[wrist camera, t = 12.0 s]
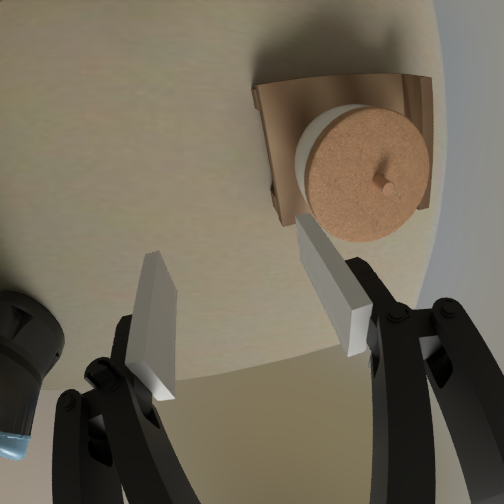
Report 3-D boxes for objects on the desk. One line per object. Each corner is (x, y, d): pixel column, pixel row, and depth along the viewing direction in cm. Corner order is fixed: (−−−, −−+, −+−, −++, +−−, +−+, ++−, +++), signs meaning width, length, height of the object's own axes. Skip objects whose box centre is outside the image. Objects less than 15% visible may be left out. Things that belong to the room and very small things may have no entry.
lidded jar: (333, 221, 30) (376, 276, 23) (255, 160, 25) (282, 203, 18) (398, 148, 27) (460, 182, 19) (331, 73, 22) (392, 77, 14)
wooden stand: (273, 209, 33) (291, 242, 27) (250, 84, 25) (265, 86, 19) (395, 183, 33) (428, 207, 28) (391, 72, 25) (431, 77, 20)
